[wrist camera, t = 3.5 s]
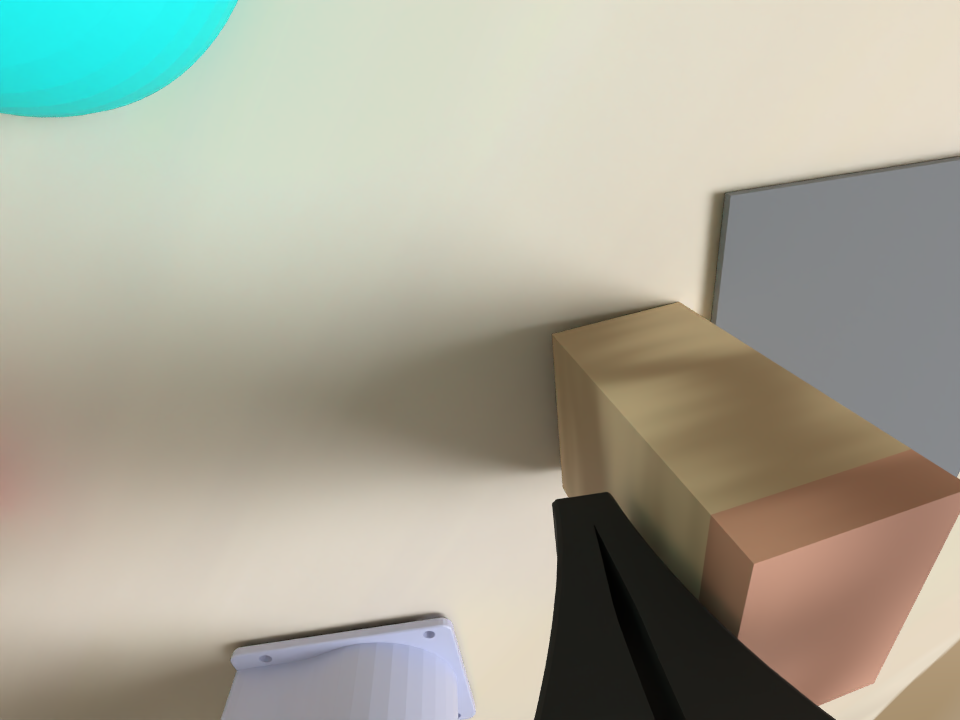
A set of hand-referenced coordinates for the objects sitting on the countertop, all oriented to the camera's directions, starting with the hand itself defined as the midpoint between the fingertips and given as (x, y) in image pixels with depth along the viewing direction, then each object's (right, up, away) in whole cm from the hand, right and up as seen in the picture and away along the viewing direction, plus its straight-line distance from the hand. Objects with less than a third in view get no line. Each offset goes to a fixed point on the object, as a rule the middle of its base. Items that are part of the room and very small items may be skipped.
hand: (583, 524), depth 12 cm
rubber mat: (+10, +4, +4) cm, 11 cm away
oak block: (+2, +3, +4) cm, 5 cm away
